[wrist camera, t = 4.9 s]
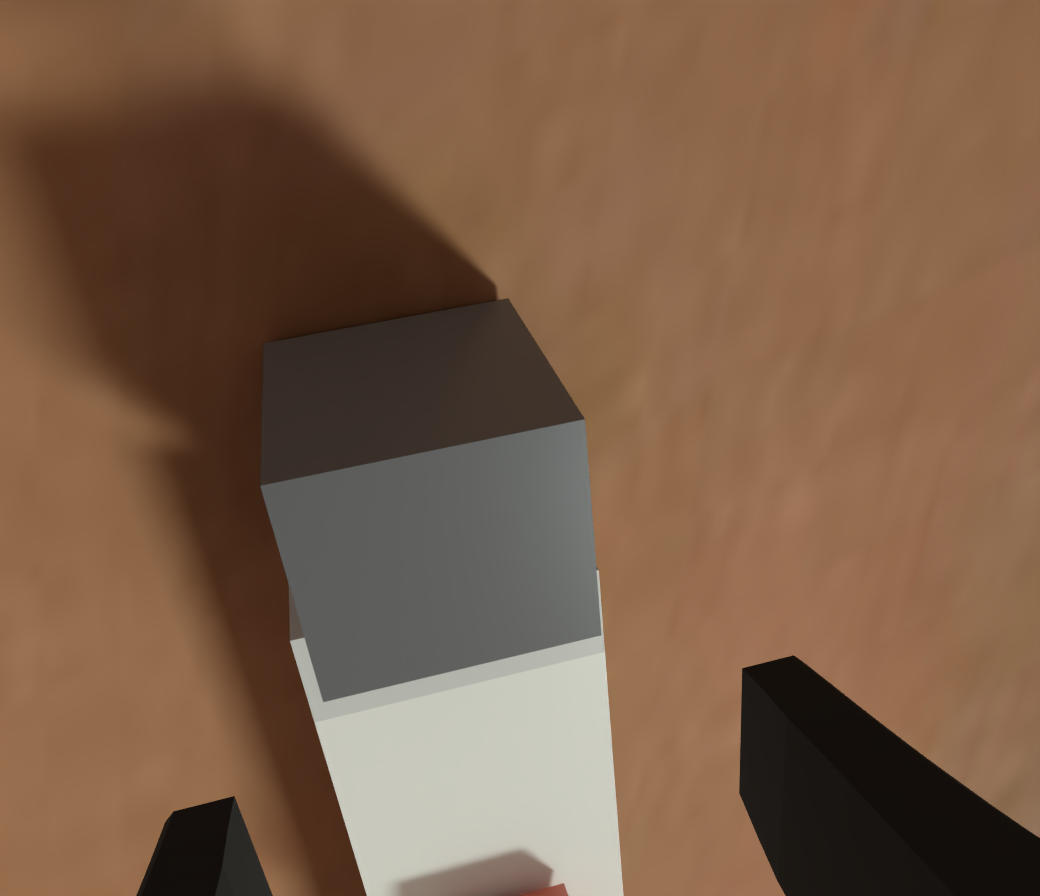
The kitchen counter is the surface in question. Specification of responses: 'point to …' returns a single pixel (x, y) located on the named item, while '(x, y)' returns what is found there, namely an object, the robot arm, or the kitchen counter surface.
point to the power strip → (477, 775)
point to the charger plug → (427, 496)
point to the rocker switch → (549, 891)
